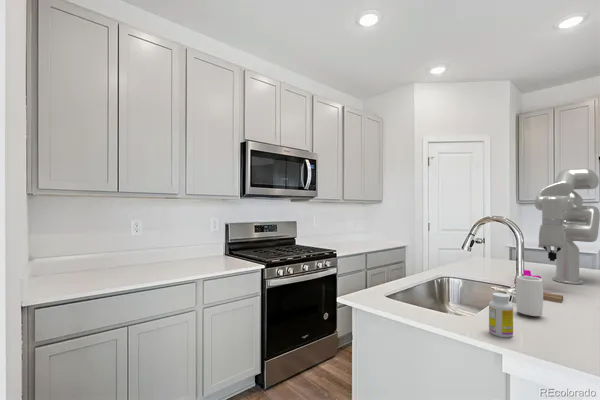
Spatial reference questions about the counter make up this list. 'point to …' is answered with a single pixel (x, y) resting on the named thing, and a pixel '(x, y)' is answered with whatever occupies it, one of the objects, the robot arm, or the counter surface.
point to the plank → (552, 297)
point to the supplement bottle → (501, 315)
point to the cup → (529, 295)
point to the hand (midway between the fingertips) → (552, 260)
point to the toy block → (529, 274)
